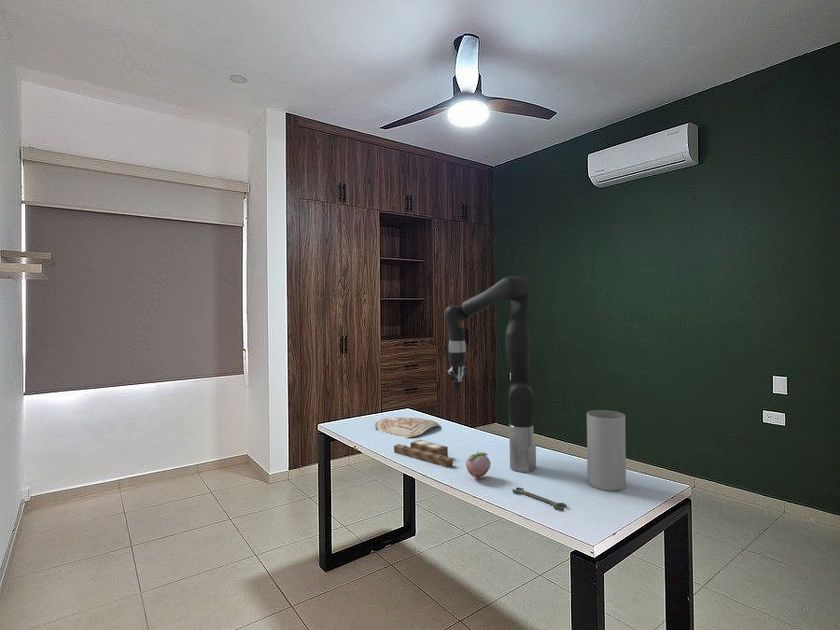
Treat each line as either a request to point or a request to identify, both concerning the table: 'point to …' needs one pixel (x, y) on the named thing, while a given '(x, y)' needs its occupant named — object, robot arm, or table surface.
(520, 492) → the wrench
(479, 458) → the decorative fruit
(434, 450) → the walnut frame
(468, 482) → the table surface
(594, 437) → the cylinder vase
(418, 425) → the poster
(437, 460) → the walnut rail
